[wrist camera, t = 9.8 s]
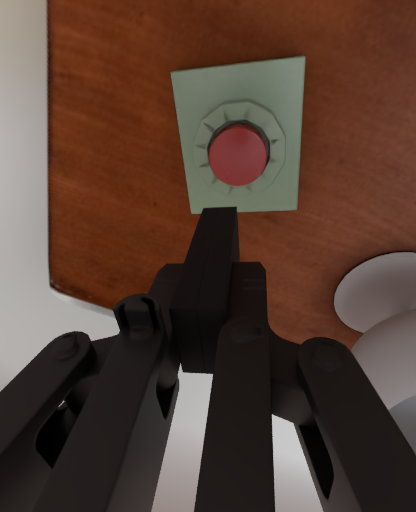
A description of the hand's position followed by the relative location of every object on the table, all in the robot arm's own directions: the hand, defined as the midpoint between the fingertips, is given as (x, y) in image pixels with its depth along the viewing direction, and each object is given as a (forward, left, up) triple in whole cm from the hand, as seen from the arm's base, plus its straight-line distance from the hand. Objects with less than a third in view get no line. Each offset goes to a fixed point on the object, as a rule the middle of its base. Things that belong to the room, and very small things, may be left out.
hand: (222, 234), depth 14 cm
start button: (0, 0, -13) cm, 13 cm away
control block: (0, 0, -17) cm, 17 cm away
